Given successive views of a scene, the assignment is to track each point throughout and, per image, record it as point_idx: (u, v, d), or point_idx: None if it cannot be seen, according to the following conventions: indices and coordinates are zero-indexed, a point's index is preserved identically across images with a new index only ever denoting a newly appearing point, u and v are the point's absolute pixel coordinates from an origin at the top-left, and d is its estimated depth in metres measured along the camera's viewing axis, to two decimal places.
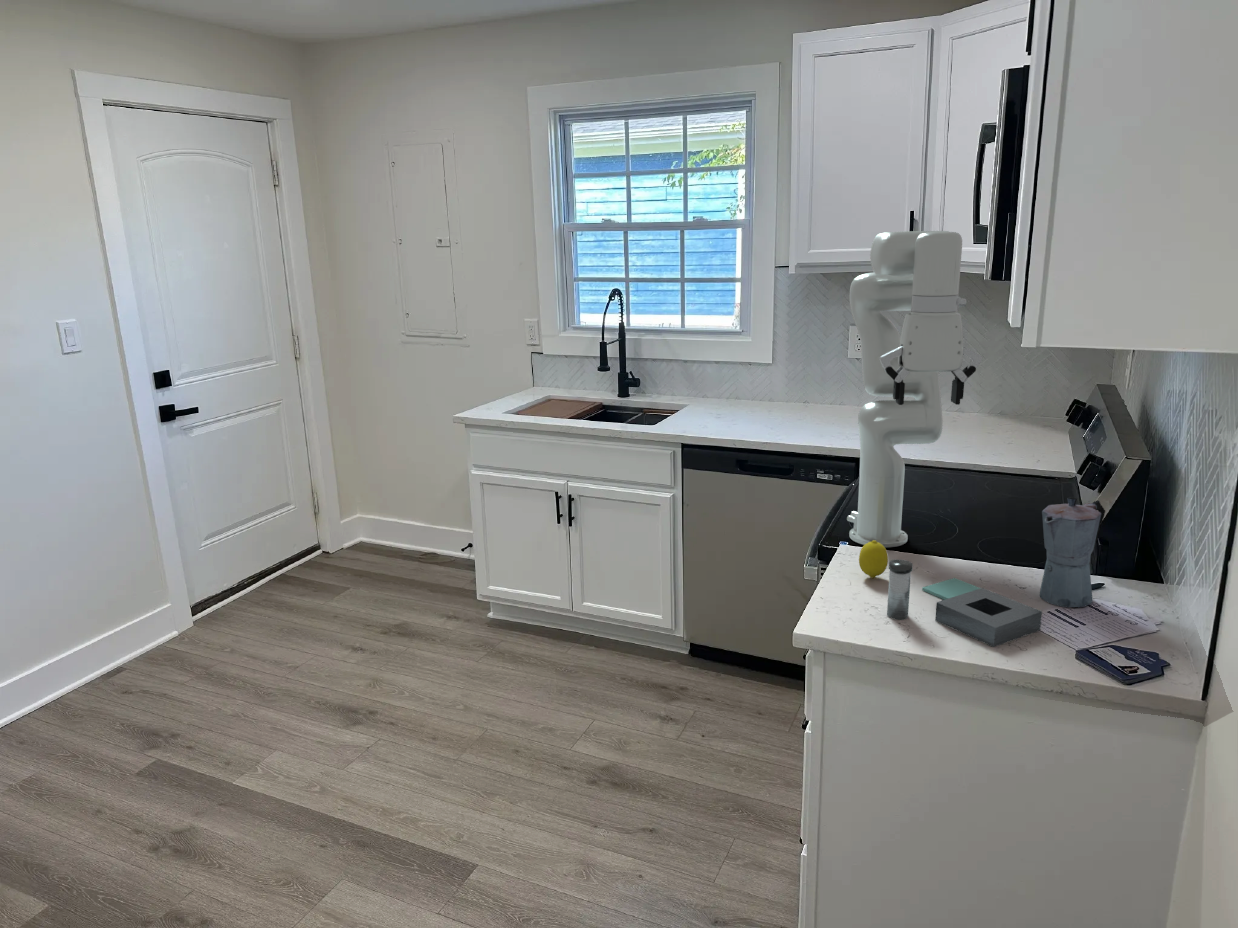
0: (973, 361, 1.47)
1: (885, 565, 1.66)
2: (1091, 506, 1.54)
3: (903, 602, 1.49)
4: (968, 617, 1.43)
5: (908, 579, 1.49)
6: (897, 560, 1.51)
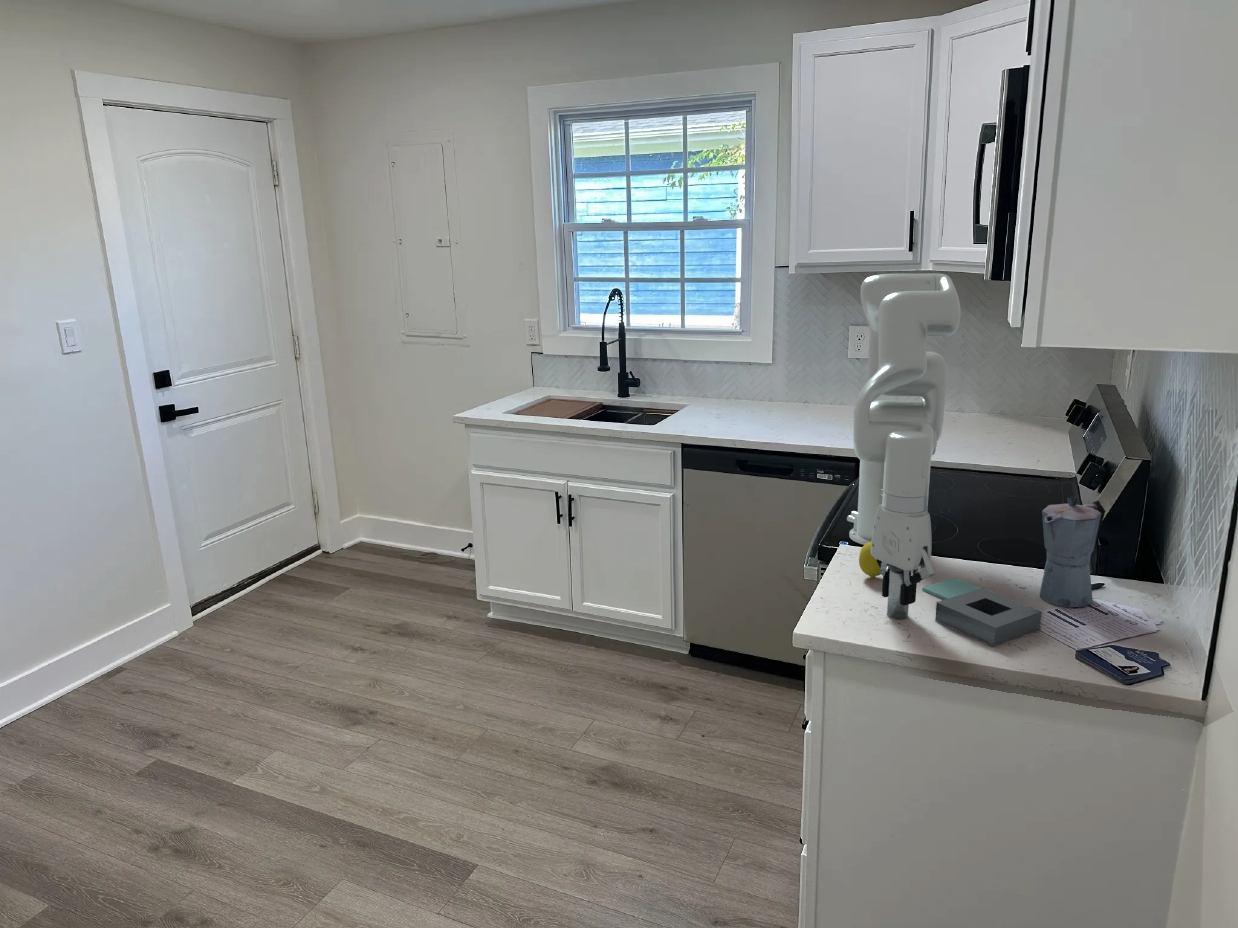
0: None
1: None
2: (1091, 506, 1.54)
3: None
4: (968, 617, 1.43)
5: None
6: None
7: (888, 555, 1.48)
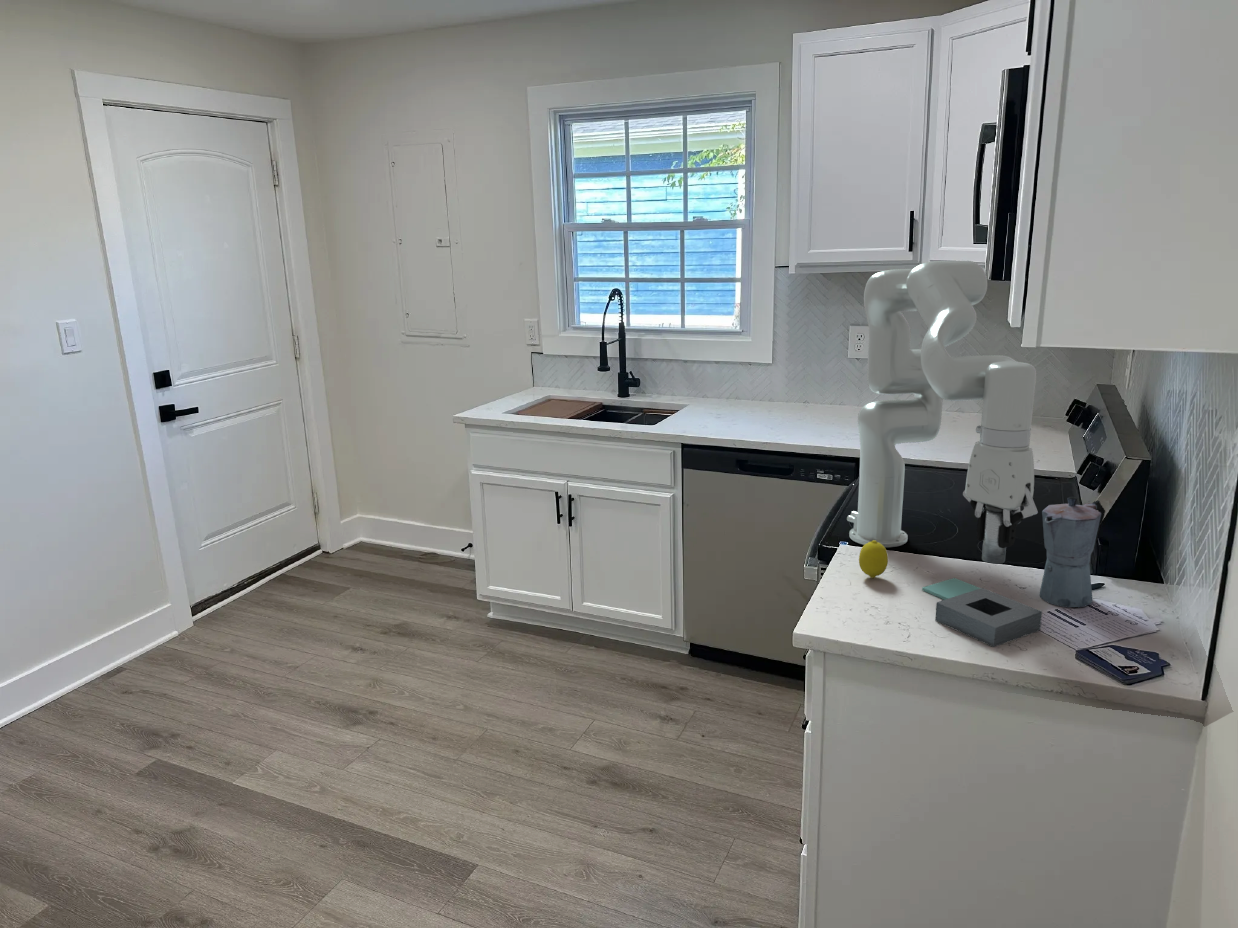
0: None
1: (885, 565, 1.66)
2: (1091, 506, 1.54)
3: None
4: (968, 617, 1.43)
5: None
6: None
7: (986, 494, 1.40)
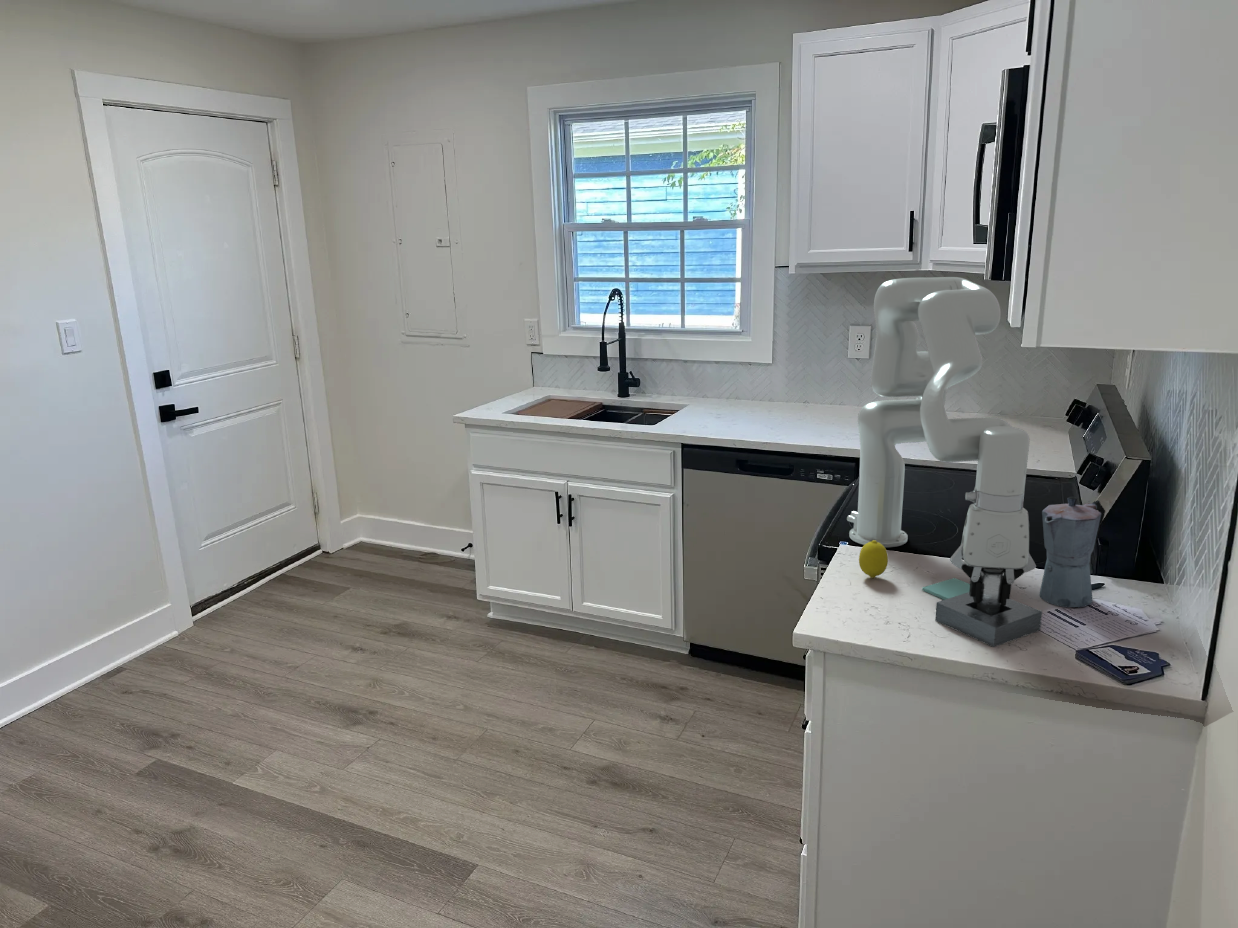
0: None
1: (885, 565, 1.66)
2: (1091, 506, 1.54)
3: None
4: (968, 617, 1.43)
5: None
6: None
7: (994, 559, 1.41)
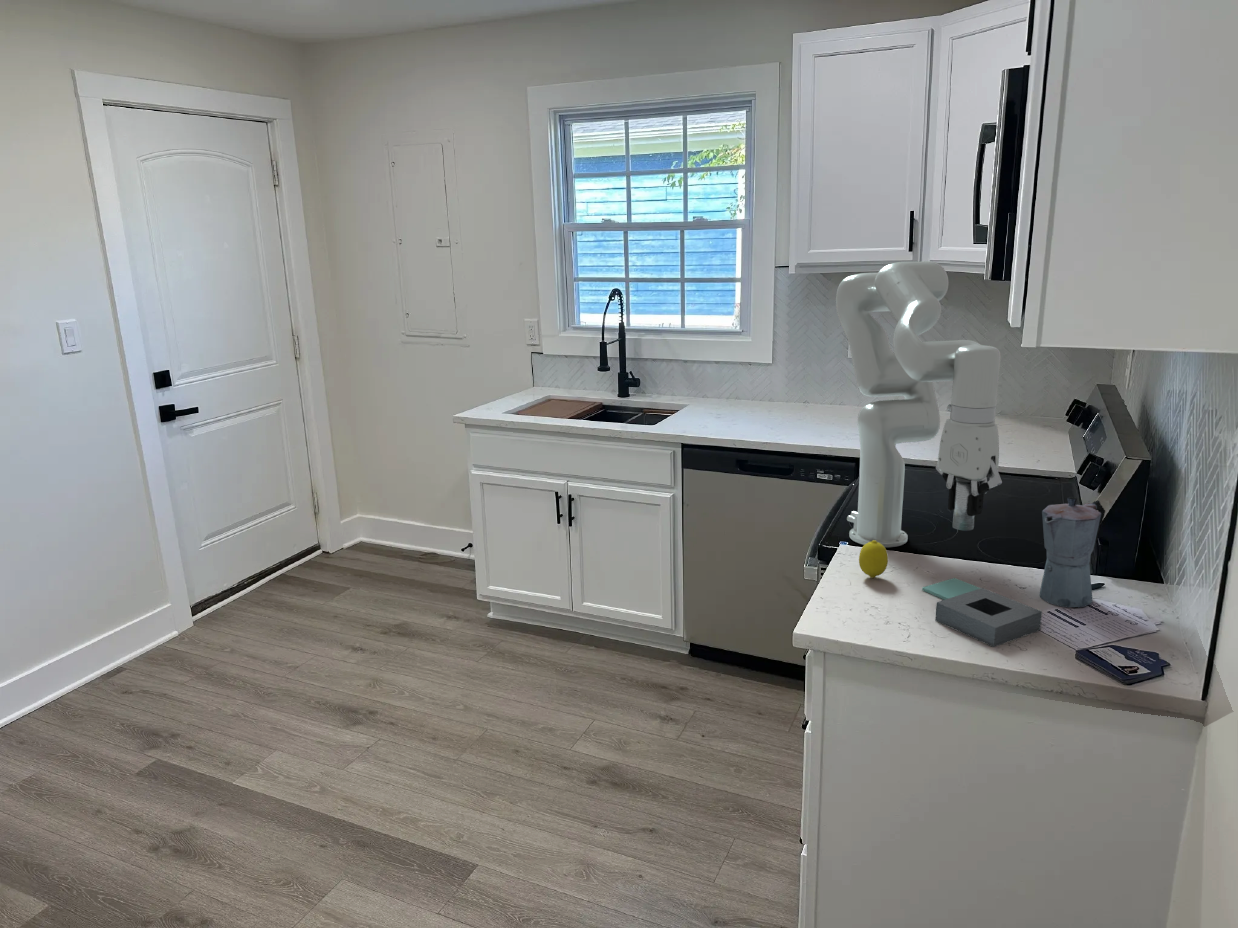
0: None
1: (885, 565, 1.66)
2: (1091, 506, 1.54)
3: None
4: (968, 617, 1.43)
5: None
6: None
7: (956, 467, 1.53)
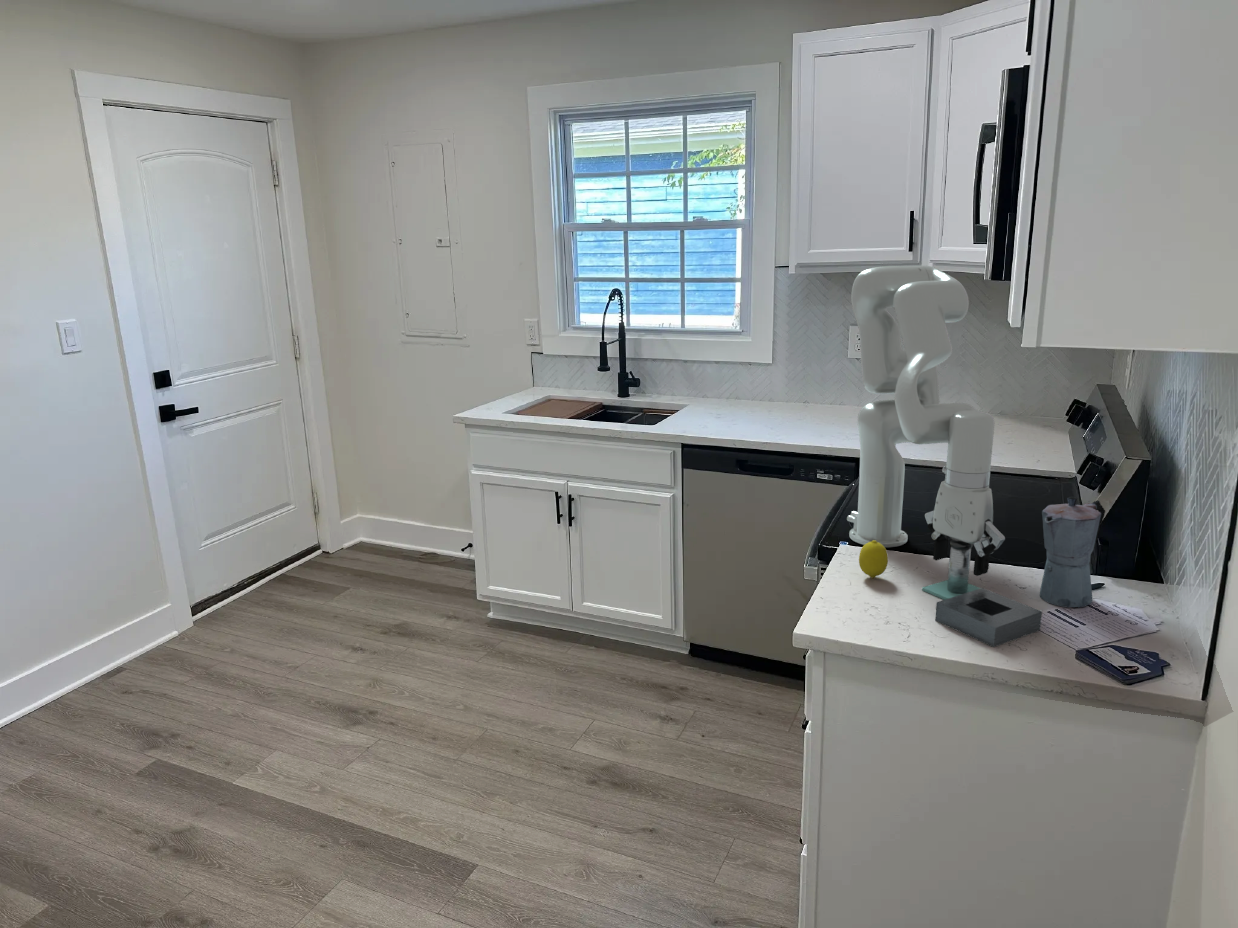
0: None
1: (885, 565, 1.66)
2: (1091, 506, 1.54)
3: (964, 577, 1.58)
4: (968, 617, 1.43)
5: (968, 555, 1.57)
6: None
7: (951, 529, 1.56)
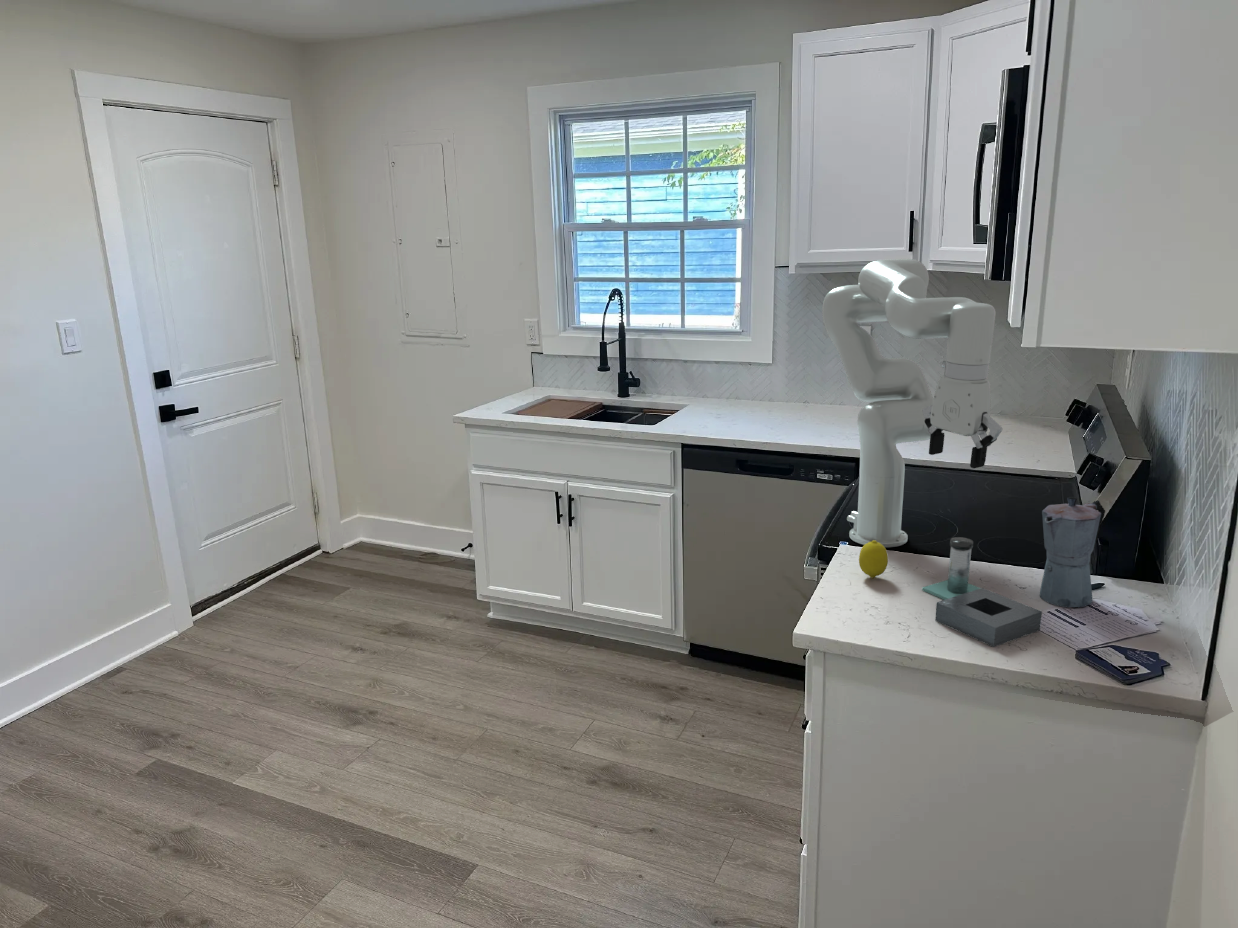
0: None
1: (885, 565, 1.66)
2: (1091, 506, 1.54)
3: (964, 577, 1.58)
4: (968, 617, 1.43)
5: (969, 555, 1.57)
6: (958, 538, 1.59)
7: (948, 422, 1.57)
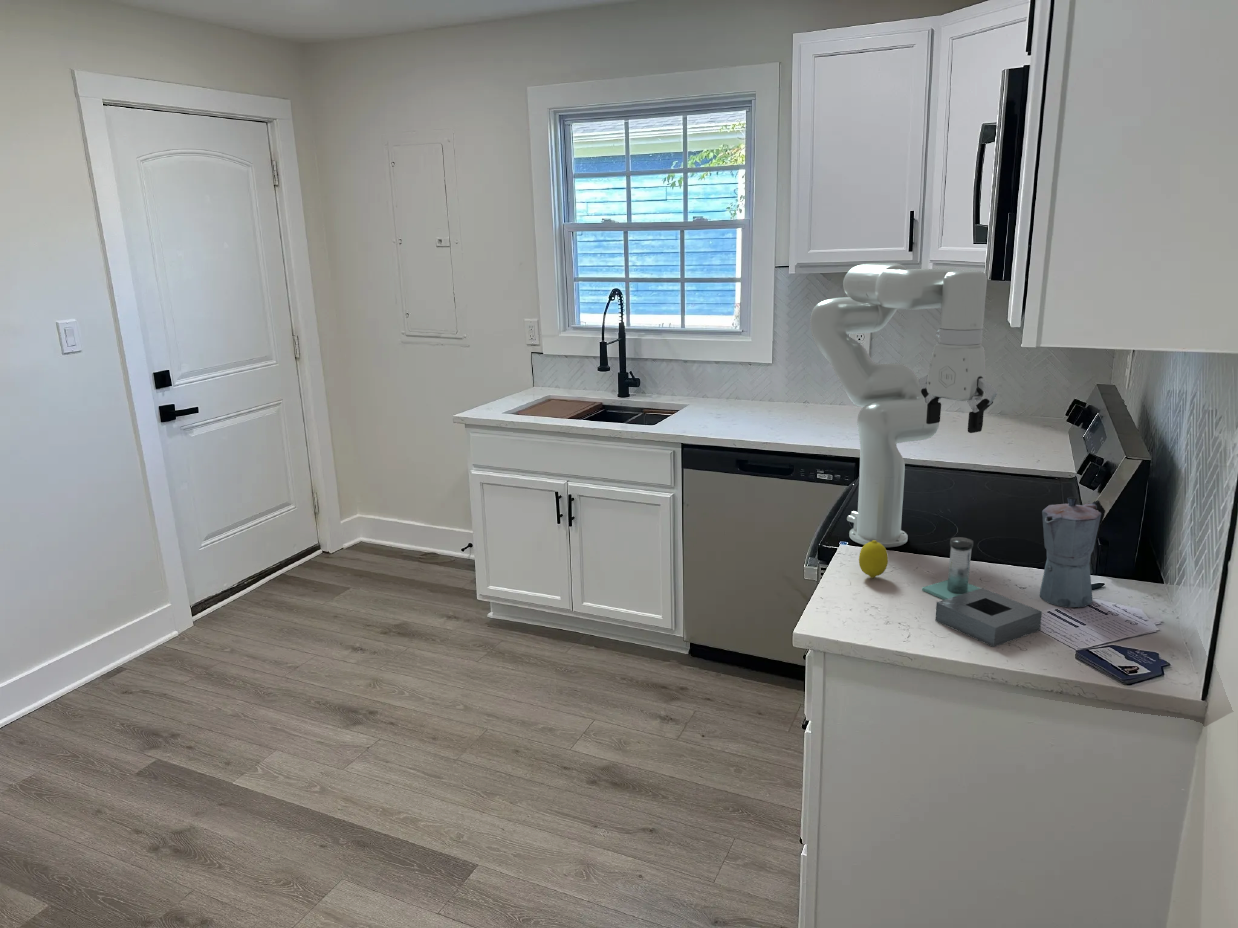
0: None
1: (885, 565, 1.66)
2: (1091, 506, 1.54)
3: (964, 577, 1.58)
4: (968, 617, 1.43)
5: (969, 555, 1.57)
6: (958, 538, 1.59)
7: (944, 389, 1.59)
